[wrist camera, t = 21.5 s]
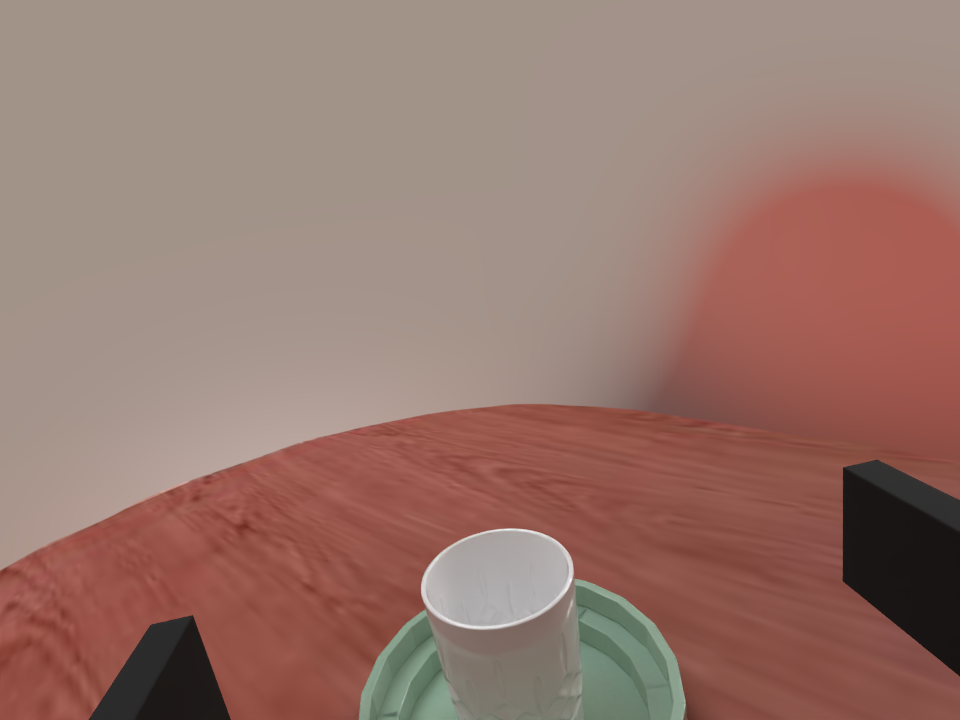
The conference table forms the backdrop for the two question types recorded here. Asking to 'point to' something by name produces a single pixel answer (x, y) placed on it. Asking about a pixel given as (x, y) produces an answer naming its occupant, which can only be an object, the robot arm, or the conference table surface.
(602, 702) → the basin
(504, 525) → the conference table surface
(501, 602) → the white cup
